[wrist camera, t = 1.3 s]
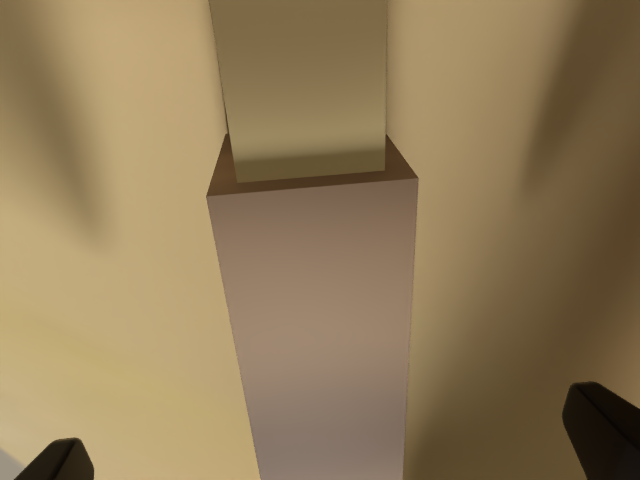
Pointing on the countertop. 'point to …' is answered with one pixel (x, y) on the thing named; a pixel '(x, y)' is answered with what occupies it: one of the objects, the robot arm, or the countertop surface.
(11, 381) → the countertop surface
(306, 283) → the tan long bar
